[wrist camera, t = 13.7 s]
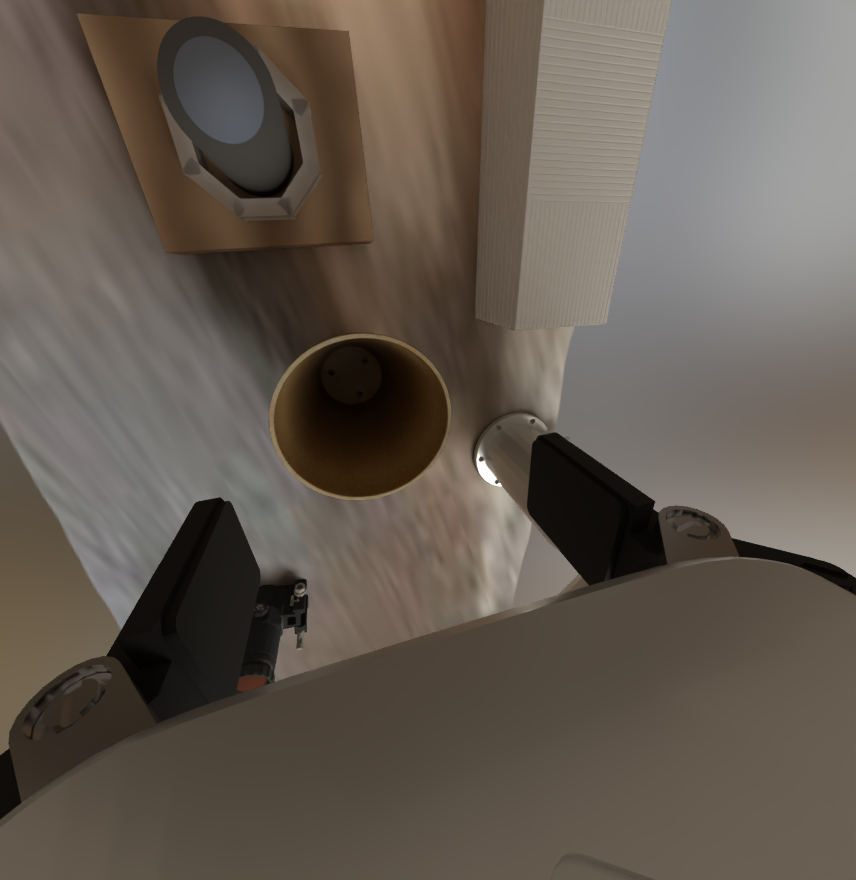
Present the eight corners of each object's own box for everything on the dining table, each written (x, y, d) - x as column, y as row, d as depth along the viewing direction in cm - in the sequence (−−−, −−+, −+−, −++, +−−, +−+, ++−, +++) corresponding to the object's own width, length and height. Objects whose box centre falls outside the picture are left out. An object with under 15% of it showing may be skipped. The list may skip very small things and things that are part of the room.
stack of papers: (548, 313, 45) (606, 323, 36) (474, 318, 43) (515, 330, 33) (596, -60, 31) (714, -206, 21) (488, -84, 28) (567, -260, 19)
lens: (283, 104, 27) (262, 19, 18) (300, 195, 30) (290, 160, 21) (200, 102, 26) (134, 8, 17) (227, 197, 28) (181, 160, 19)
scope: (303, 697, 44) (217, 715, 42) (309, 607, 56) (242, 616, 54) (301, 658, 41) (207, 675, 38) (307, 570, 53) (236, 579, 50)
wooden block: (346, 59, 30) (350, 9, 24) (369, 243, 36) (377, 238, 30) (110, 47, 26) (49, -15, 20) (183, 254, 32) (152, 250, 27)
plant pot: (315, 444, 44) (309, 522, 30) (268, 329, 37) (232, 363, 23) (422, 412, 46) (463, 472, 32) (397, 298, 39) (436, 312, 25)
